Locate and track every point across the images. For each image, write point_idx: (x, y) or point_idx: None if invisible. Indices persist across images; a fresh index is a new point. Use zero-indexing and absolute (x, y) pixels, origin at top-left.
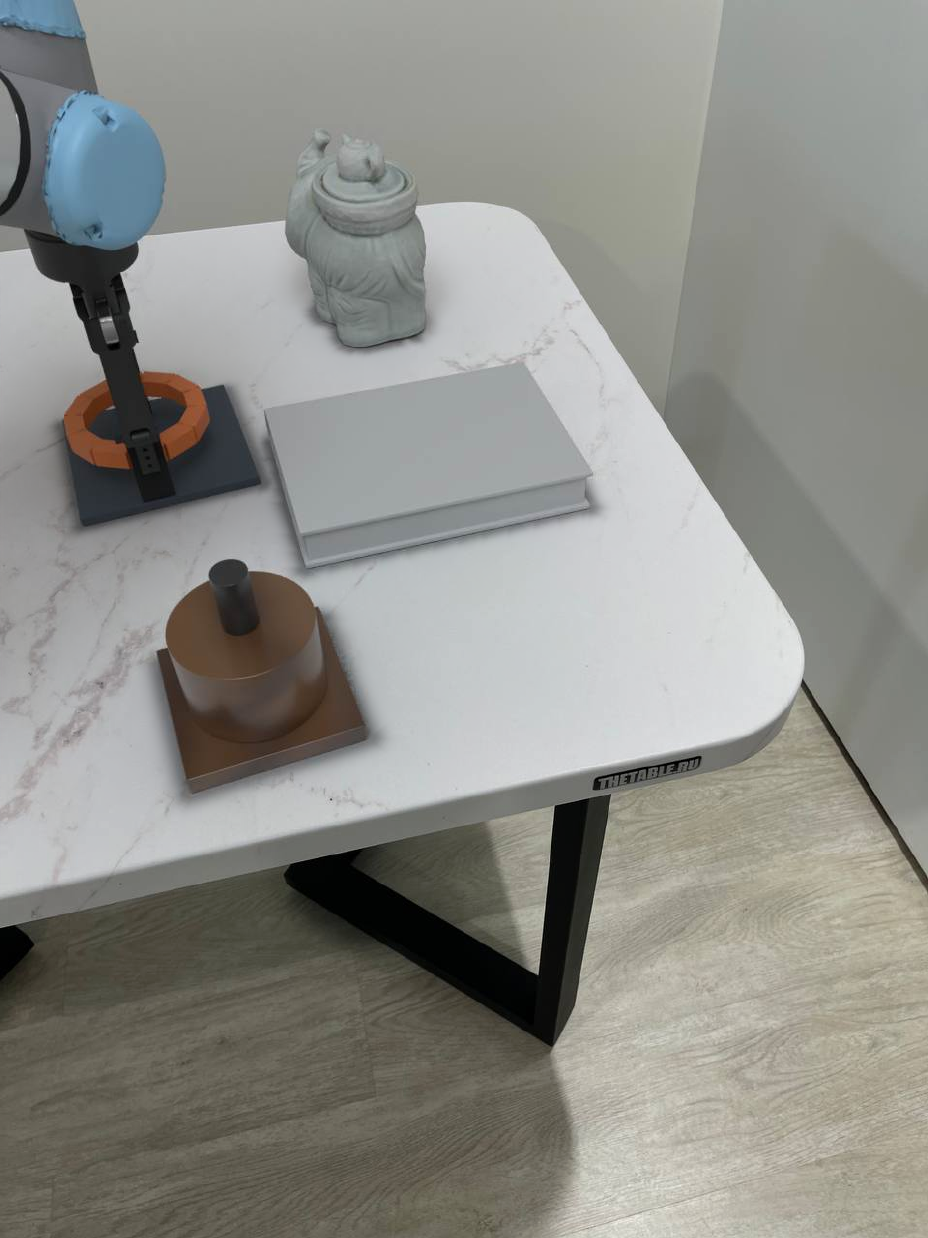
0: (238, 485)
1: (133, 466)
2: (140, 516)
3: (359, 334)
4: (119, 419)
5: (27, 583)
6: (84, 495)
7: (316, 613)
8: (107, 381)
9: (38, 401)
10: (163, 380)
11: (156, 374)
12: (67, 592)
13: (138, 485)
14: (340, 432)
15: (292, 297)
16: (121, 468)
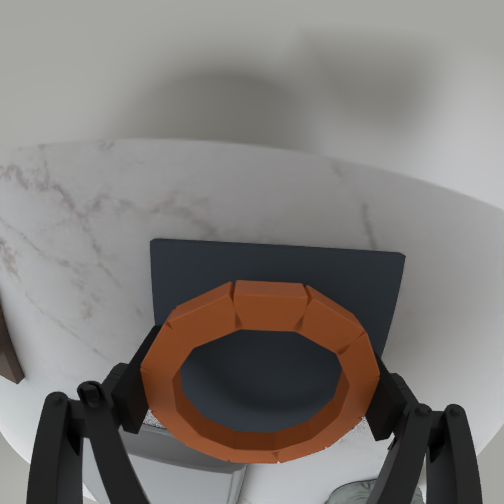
0: None
1: (133, 359)
2: (152, 309)
3: (336, 499)
4: (39, 427)
5: (84, 159)
6: (200, 255)
7: (12, 380)
8: (29, 482)
9: (459, 229)
10: (321, 437)
11: (342, 431)
12: (59, 204)
13: (145, 339)
14: (167, 489)
15: None
16: None
